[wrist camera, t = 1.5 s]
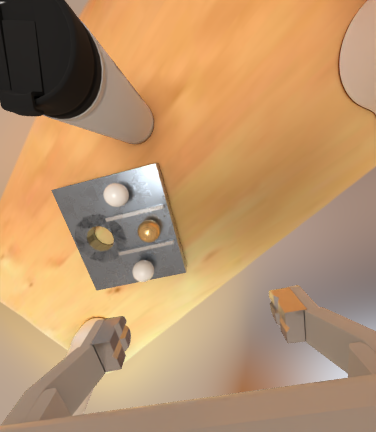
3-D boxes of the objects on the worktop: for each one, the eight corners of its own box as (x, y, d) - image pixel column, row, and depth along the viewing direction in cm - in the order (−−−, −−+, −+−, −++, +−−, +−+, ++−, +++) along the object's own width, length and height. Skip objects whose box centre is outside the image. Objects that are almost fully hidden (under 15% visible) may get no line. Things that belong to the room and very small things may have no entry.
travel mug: (114, 145, 29) (-42, 109, 9) (112, 97, 27) (-90, -68, 8) (154, 147, 29) (78, 115, 9) (154, 100, 27) (59, -61, 8)
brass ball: (158, 214, 29) (154, 221, 26) (164, 234, 30) (161, 243, 27) (138, 219, 29) (131, 227, 26) (144, 239, 30) (138, 248, 27)
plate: (158, 163, 29) (154, 163, 26) (186, 264, 34) (186, 275, 31) (62, 188, 31) (47, 191, 28) (103, 281, 36) (94, 293, 33)
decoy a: (152, 254, 31) (147, 265, 28) (158, 271, 32) (154, 284, 29) (133, 258, 31) (126, 269, 28) (139, 275, 32) (133, 288, 29)
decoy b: (127, 179, 28) (119, 181, 24) (135, 201, 29) (127, 206, 25) (106, 184, 28) (94, 187, 25) (114, 206, 29) (104, 212, 25)
